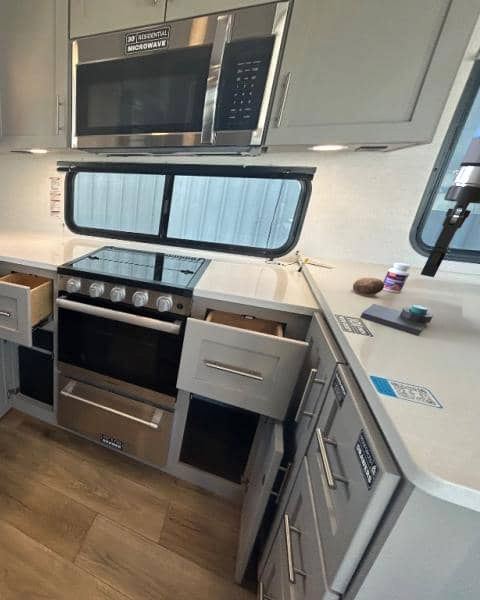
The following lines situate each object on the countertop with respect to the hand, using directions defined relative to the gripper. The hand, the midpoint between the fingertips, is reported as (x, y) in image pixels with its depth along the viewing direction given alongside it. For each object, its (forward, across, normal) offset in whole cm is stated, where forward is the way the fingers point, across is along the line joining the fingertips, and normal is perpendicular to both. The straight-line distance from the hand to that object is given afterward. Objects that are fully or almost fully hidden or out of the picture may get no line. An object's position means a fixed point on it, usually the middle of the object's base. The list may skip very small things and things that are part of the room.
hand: (427, 275), depth 91 cm
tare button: (+9, +7, +2) cm, 12 cm away
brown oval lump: (+12, -10, -12) cm, 20 cm away
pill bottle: (+12, -25, -8) cm, 29 cm away
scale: (+12, +10, -2) cm, 16 cm away
